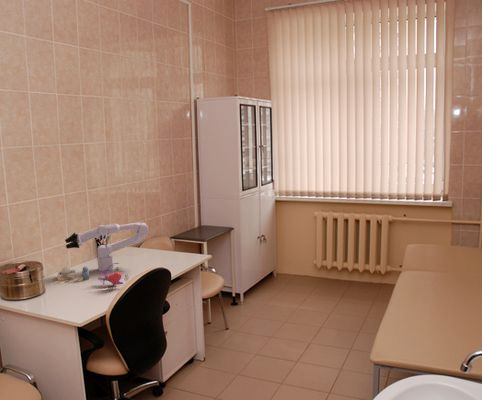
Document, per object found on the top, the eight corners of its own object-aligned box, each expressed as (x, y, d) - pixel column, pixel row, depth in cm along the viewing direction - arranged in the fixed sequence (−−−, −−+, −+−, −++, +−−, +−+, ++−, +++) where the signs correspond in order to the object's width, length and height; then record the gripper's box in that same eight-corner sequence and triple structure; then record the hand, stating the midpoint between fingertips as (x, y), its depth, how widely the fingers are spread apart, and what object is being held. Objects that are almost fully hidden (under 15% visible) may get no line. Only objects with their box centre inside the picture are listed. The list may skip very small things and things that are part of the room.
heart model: (117, 293, 260) (90, 285, 266) (126, 292, 268) (99, 284, 274) (124, 266, 260) (96, 258, 266) (132, 265, 268) (105, 258, 274)
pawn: (90, 277, 284) (88, 265, 282) (89, 279, 280) (88, 267, 279) (83, 278, 283) (82, 266, 282) (82, 280, 279) (81, 267, 278)
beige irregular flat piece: (95, 273, 295) (94, 267, 294) (92, 282, 278) (92, 275, 277) (57, 278, 290) (57, 271, 290) (53, 287, 274) (52, 279, 273)
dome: (72, 274, 290) (71, 265, 289) (71, 276, 285) (70, 267, 284) (62, 275, 289) (61, 266, 288) (61, 277, 283) (60, 268, 283)
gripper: (84, 225, 299) (62, 233, 296) (86, 235, 287) (64, 244, 284) (88, 234, 302) (67, 243, 299) (90, 245, 290) (68, 253, 287)
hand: (66, 244), depth 292 cm, fingers open, 7 cm apart
